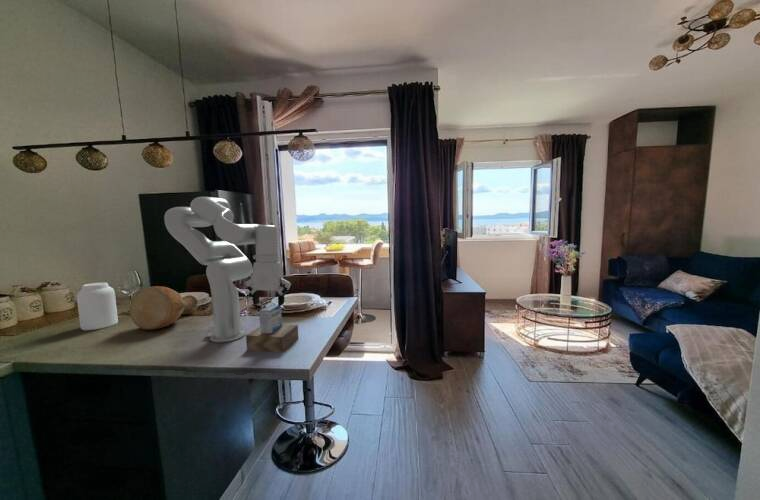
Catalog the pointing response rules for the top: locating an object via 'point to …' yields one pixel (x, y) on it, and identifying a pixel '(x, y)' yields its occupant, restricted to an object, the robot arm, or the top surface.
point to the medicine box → (270, 319)
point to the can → (97, 306)
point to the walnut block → (272, 339)
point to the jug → (160, 307)
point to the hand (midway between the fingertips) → (268, 304)
